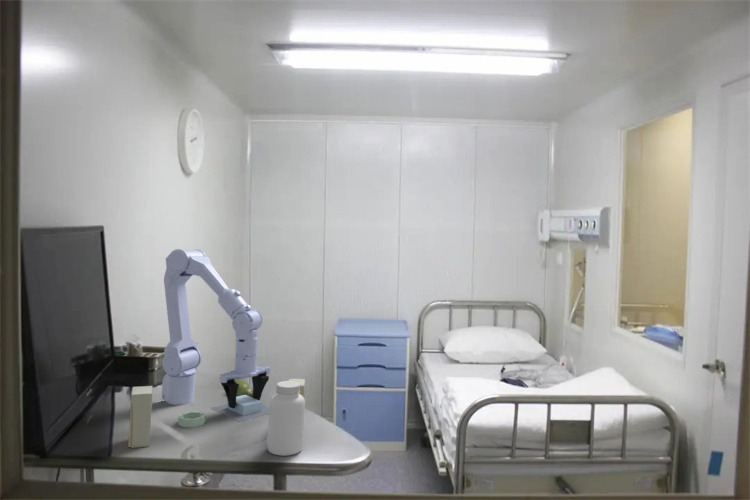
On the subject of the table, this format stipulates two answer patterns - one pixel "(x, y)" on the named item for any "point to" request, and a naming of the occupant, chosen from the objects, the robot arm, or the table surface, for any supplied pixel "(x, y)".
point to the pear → (244, 389)
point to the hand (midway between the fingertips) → (244, 404)
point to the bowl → (192, 419)
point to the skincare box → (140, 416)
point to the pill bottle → (286, 419)
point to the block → (246, 405)
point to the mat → (239, 417)
